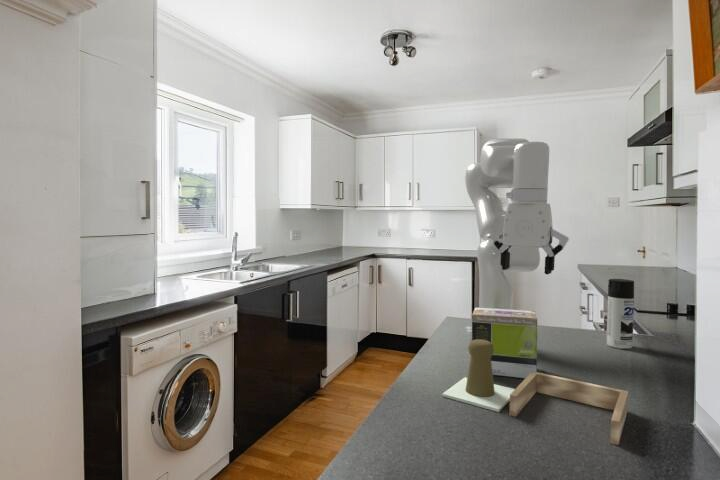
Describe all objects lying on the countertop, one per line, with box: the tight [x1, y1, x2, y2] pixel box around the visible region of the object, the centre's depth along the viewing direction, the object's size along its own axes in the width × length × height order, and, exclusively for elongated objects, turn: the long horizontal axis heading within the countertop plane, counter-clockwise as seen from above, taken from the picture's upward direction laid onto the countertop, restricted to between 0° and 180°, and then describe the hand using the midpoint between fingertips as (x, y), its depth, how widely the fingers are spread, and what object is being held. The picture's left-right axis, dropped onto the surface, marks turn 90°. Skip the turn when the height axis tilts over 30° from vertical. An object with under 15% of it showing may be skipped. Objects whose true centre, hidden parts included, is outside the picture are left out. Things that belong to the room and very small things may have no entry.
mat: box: [441, 376, 516, 413], centre depth 92 cm, size 12×12×1 cm
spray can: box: [606, 278, 635, 350], centre depth 127 cm, size 7×7×20 cm
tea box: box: [471, 306, 538, 379], centre depth 106 cm, size 15×10×15 cm, turn 71°
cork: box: [466, 339, 495, 397], centre depth 91 cm, size 6×6×11 cm
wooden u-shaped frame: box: [509, 371, 629, 446], centre depth 83 cm, size 18×16×4 cm
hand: (526, 271), depth 99 cm, fingers open, 9 cm apart
